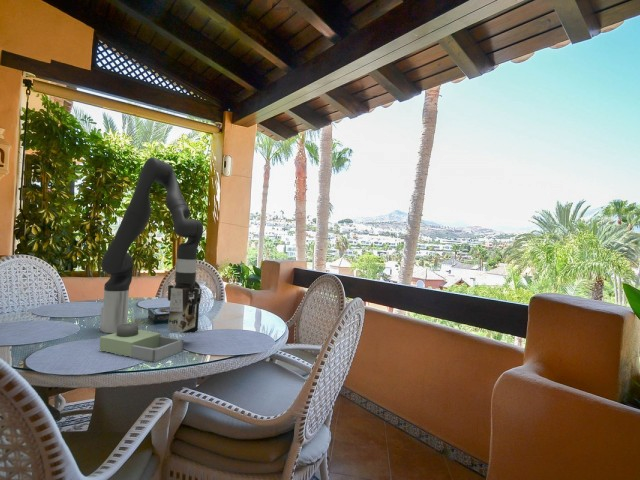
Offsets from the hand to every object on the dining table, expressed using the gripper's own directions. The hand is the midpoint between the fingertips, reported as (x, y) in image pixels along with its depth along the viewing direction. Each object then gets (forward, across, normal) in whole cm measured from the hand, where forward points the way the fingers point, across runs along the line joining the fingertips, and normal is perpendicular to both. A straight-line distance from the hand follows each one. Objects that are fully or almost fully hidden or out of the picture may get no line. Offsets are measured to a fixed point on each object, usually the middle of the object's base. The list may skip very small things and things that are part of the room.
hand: (182, 313), depth 144 cm
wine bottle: (+12, +11, -18) cm, 25 cm away
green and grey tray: (+12, +5, +13) cm, 18 cm away
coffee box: (+6, 0, 0) cm, 6 cm away
